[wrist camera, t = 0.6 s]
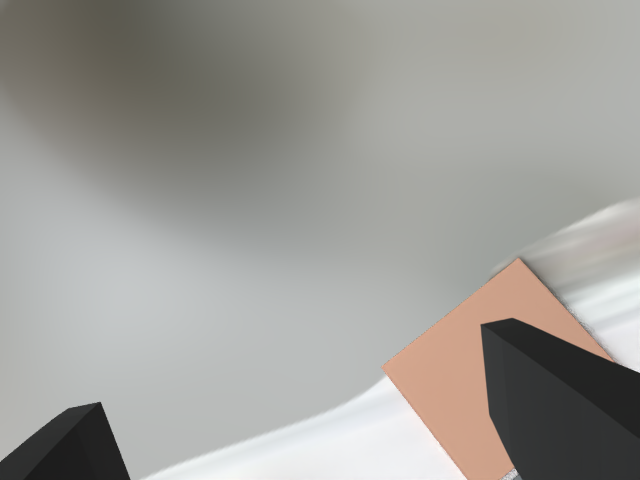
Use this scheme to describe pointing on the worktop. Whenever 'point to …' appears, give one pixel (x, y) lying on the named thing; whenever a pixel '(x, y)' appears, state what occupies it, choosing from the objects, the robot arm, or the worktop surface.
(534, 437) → the robot arm
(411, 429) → the worktop surface
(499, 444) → the tile
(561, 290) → the worktop surface
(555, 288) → the worktop surface
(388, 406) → the worktop surface
